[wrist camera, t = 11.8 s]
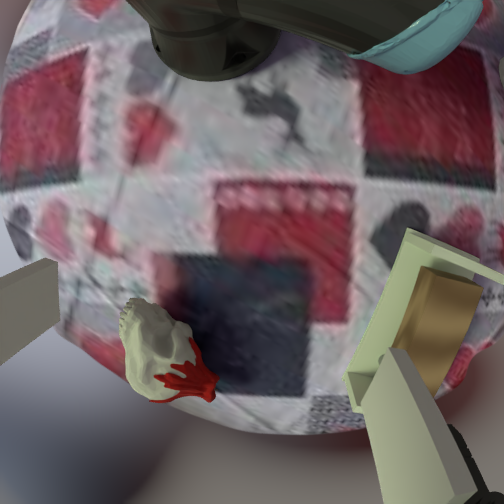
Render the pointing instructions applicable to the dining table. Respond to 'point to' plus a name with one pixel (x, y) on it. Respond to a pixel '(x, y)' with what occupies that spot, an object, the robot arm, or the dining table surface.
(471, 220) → the dining table surface
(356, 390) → the shelf frame
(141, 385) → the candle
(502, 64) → the french press
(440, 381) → the brown long block
